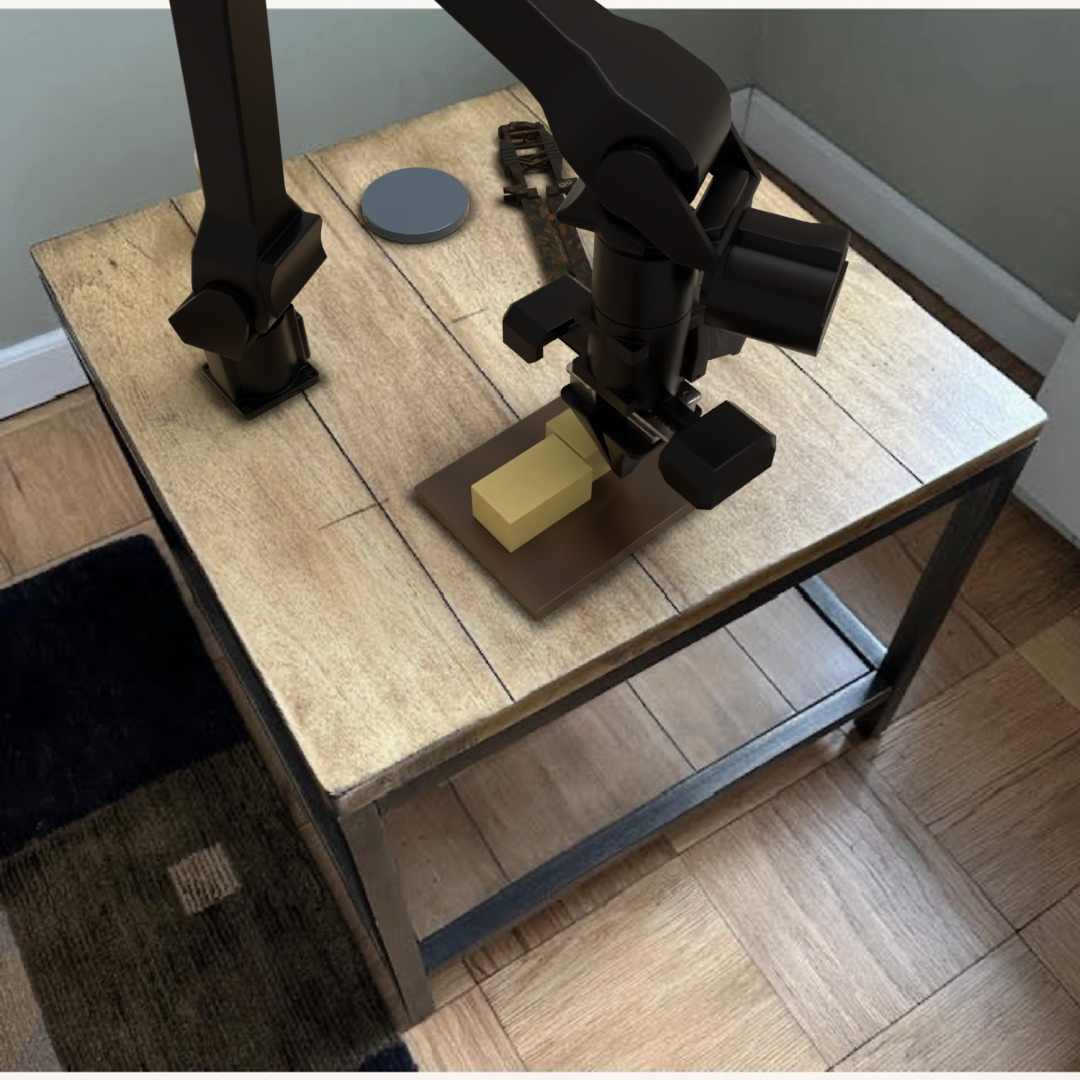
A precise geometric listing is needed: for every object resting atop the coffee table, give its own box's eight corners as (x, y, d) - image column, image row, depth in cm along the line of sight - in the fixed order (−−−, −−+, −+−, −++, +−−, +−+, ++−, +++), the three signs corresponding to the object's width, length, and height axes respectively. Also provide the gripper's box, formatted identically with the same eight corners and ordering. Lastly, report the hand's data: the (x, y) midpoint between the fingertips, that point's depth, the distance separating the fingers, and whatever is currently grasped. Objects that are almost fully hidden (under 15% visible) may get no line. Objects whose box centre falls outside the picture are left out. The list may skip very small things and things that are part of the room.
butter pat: (582, 488, 74) (585, 458, 71) (544, 453, 76) (545, 422, 73) (628, 458, 76) (632, 427, 73) (590, 424, 77) (592, 393, 75)
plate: (404, 258, 89) (403, 248, 89) (341, 204, 93) (340, 194, 93) (490, 213, 93) (490, 203, 92) (426, 163, 97) (425, 153, 96)
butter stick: (510, 553, 71) (510, 524, 68) (472, 515, 73) (470, 485, 70) (591, 498, 74) (593, 468, 71) (552, 463, 75) (553, 432, 73)
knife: (608, 320, 85) (609, 307, 84) (526, 327, 85) (526, 314, 84) (562, 129, 100) (562, 116, 99) (491, 134, 99) (491, 120, 98)
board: (537, 621, 69) (537, 611, 68) (415, 497, 75) (413, 486, 74) (715, 494, 75) (717, 483, 74) (589, 388, 81) (590, 376, 80)
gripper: (867, 319, 60) (808, 496, 72) (634, 159, 68) (617, 343, 81) (724, 416, 55) (688, 586, 68) (493, 233, 64) (499, 415, 76)
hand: (623, 472), depth 73 cm, fingers closed
